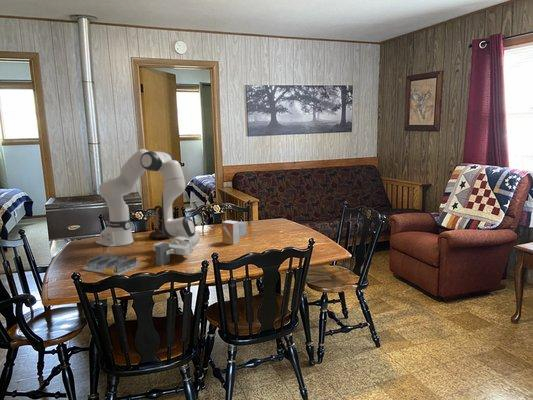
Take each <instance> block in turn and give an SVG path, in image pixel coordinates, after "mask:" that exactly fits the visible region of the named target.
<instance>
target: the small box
mask: <svg viewBox="0 0 533 400" xmlns="http://www.w3.org/2000/svg"><path fill="white" fill-rule="evenodd" d="M239 222H240V221H237V220H229V219H227V220H224V221H222V222H221V228H222V229H221V230H222V231H221V232H222V233H221V235H222V236H221V241H222V244H227V245H230V246H231V245H232V246H234V245H236V244H238V243H240V237H239Z"/></svg>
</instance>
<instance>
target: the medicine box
mask: <svg viewBox="0 0 533 400" xmlns="http://www.w3.org/2000/svg"><path fill="white" fill-rule="evenodd" d="M238 222H239V238H241V237H244V236H247V222H246V221H243V220H242V221H241V220H240V221H238Z"/></svg>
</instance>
